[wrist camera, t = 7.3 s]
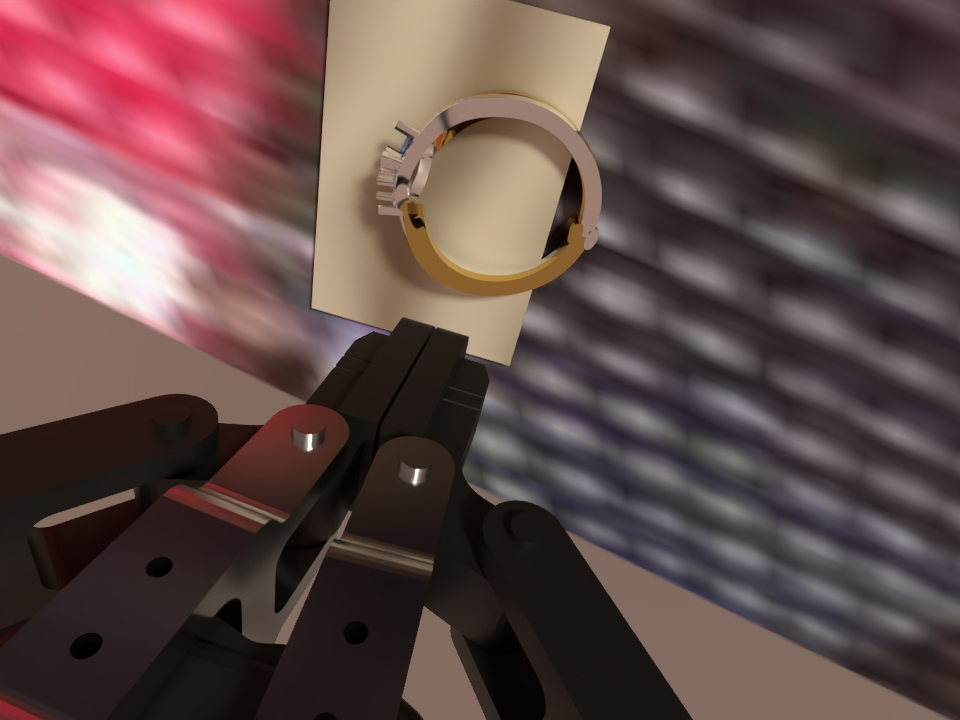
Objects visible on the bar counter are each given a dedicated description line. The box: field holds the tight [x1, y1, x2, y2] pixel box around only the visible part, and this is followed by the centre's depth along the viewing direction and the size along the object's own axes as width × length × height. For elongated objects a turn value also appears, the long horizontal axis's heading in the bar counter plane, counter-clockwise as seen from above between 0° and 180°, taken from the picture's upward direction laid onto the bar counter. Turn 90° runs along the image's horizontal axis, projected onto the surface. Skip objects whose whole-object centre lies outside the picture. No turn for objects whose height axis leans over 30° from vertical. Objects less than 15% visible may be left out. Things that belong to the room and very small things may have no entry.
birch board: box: [312, 0, 610, 366], centre depth 22 cm, size 9×13×1 cm
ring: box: [376, 90, 602, 296], centre depth 21 cm, size 7×3×8 cm
